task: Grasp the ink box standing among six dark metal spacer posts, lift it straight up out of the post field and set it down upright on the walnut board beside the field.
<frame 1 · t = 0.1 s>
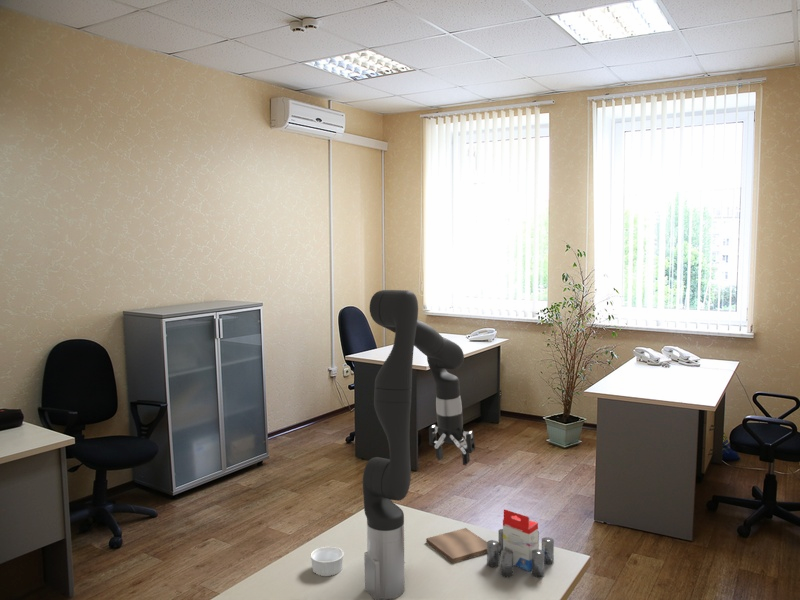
hand: (453, 461, 180), 22 cm above the table, tool pointing down, fingers open, 8 cm apart
ramekin: (327, 570, 162), on the table
ink box: (520, 563, 165), on the table
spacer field: (520, 562, 165), on the table
walnut board: (459, 546, 174), on the table
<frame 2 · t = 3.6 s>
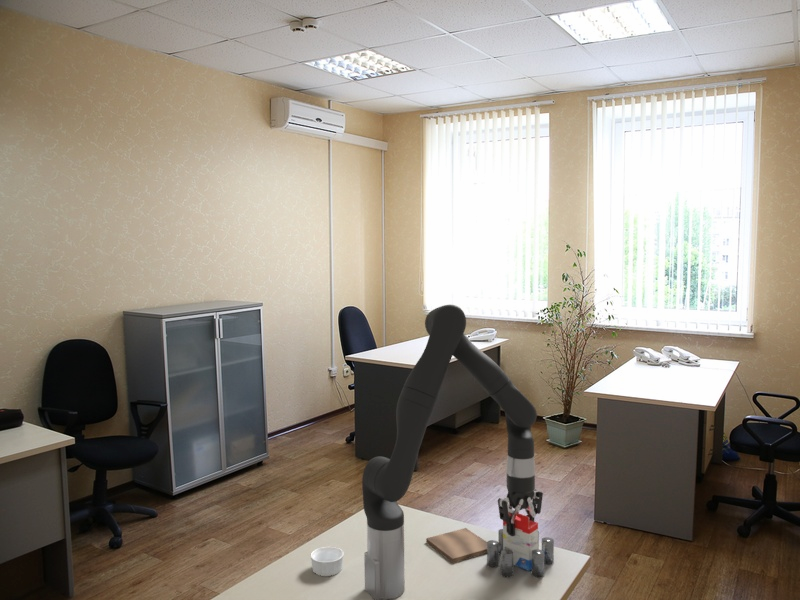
hand: (520, 532, 164), 9 cm above the table, tool pointing down, fingers closed on ink box, 6 cm apart
ink box: (520, 563, 165), on the table, touching gripper
everything else where it was.
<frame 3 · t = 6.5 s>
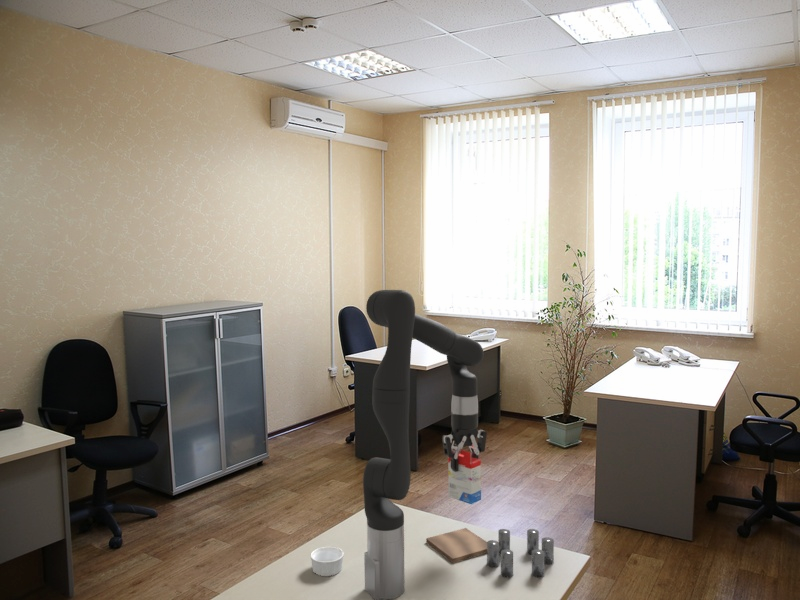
hand: (464, 468, 172), 23 cm above the table, tool pointing down, fingers closed on ink box, 6 cm apart
ink box: (464, 499, 172), point 14 cm above the table, touching gripper
everything else where it was.
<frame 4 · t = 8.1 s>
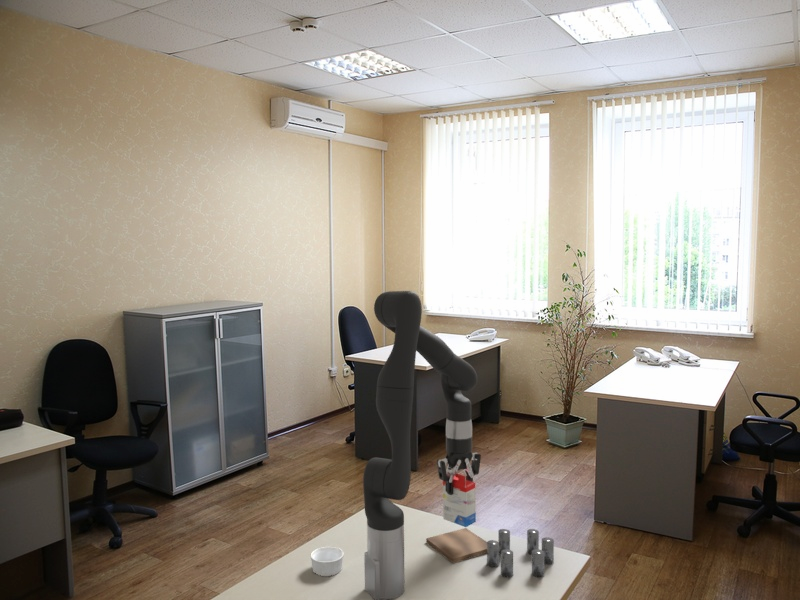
hand: (459, 491, 173), 16 cm above the table, tool pointing down, fingers closed on ink box, 6 cm apart
ink box: (459, 521, 174), point 7 cm above the table, touching gripper
everything else where it was.
when the fingers open (11 cm above the table, at t = 9.6 s): ink box drops 1 cm, resting on walnut board.
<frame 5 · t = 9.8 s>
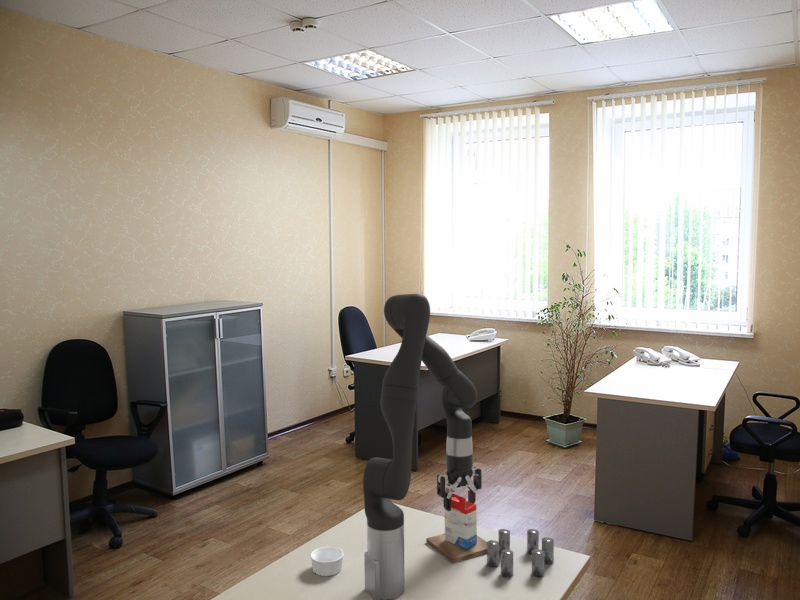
hand: (459, 507, 174), 12 cm above the table, tool pointing down, fingers open, 7 cm apart
ink box: (460, 542, 174), point 1 cm above the table, touching walnut board
everything else where it was.
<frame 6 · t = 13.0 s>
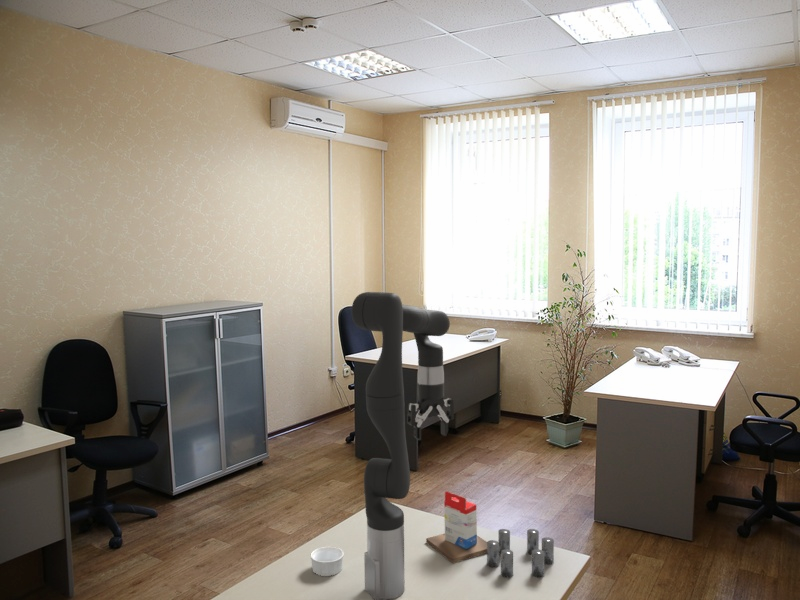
hand: (431, 437, 172), 32 cm above the table, tool pointing down, fingers open, 8 cm apart
nothing on the table moved.
at the end: ink box inside the target area on the walnut board (0.3 cm from its centre), point 1.0 cm above the walnut board's base; ink box tilted 0°; the gripper is holding nothing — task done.
